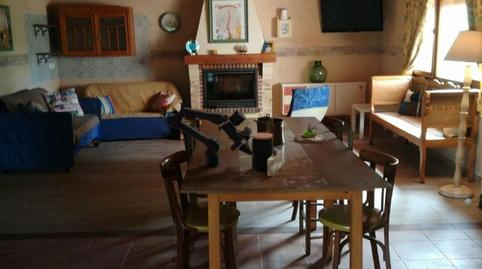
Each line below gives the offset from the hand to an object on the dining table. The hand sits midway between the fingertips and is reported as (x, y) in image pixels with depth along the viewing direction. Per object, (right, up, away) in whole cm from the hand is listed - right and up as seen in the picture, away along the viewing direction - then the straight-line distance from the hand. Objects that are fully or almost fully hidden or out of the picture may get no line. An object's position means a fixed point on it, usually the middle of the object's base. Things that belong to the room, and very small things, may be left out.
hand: (252, 154), depth 241 cm
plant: (+39, +6, +63) cm, 74 cm away
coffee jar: (+5, -8, 0) cm, 9 cm away
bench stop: (+12, -8, -2) cm, 14 cm away
